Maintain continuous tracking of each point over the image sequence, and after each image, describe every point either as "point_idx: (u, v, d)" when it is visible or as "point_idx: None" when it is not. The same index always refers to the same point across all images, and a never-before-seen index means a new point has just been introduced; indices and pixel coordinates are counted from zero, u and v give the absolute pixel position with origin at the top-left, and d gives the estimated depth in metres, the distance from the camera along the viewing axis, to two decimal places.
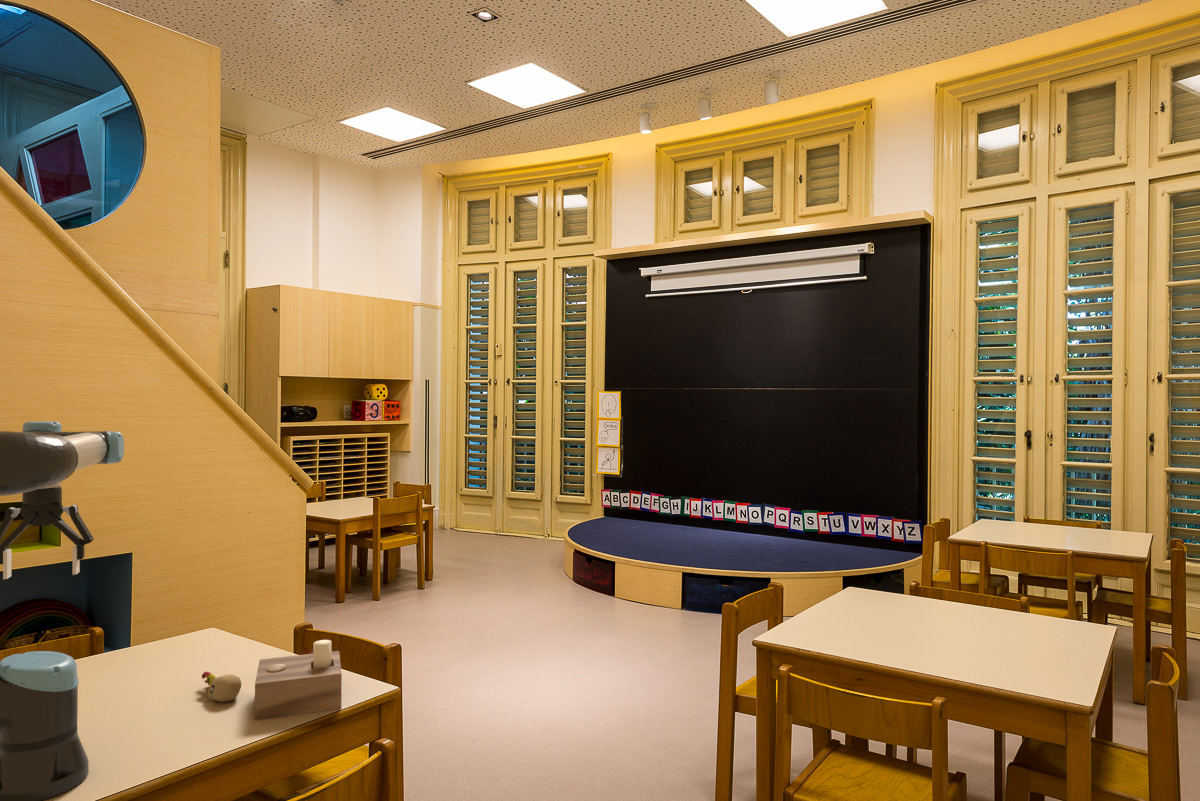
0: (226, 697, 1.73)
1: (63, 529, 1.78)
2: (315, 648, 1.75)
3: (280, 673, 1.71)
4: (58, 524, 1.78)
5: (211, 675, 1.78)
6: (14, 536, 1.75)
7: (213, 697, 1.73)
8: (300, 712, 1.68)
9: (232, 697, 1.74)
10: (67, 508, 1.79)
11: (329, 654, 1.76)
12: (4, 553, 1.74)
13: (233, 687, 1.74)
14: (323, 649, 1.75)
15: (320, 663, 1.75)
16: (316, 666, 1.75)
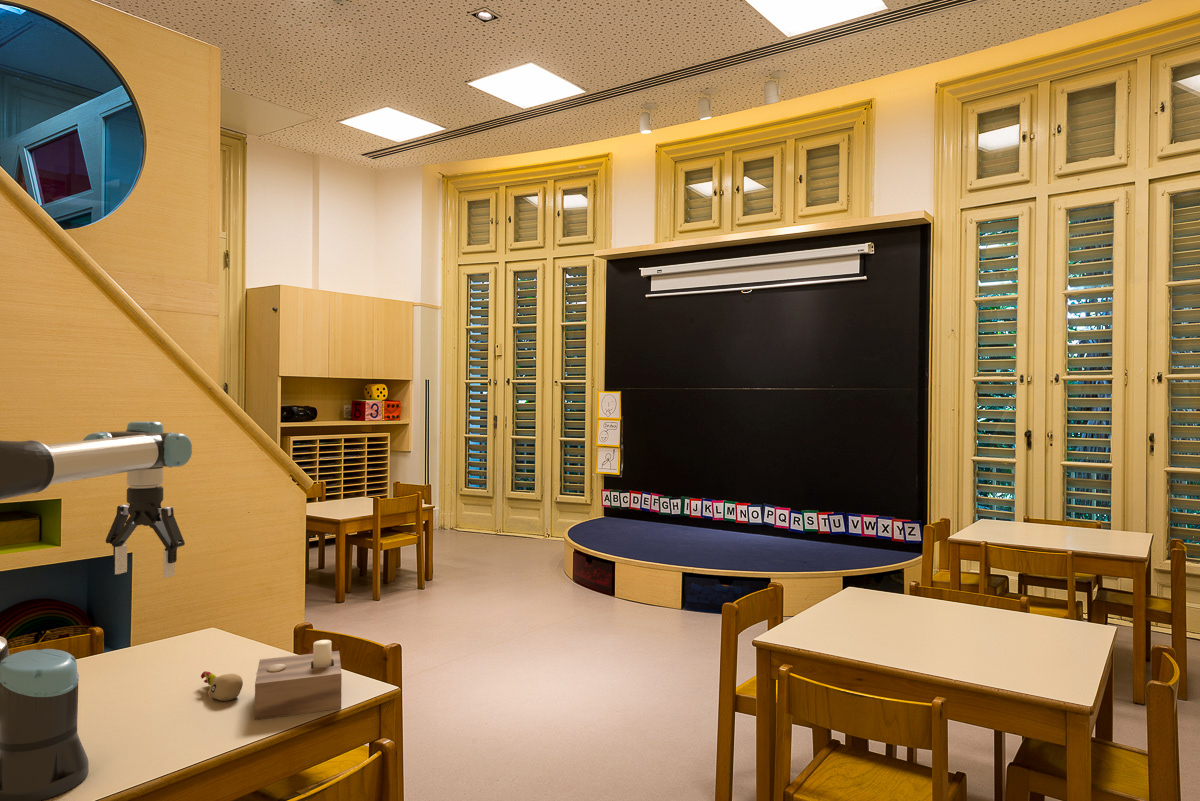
0: (229, 696, 1.73)
1: (157, 531, 1.77)
2: (315, 648, 1.75)
3: (280, 673, 1.71)
4: (152, 525, 1.77)
5: (211, 674, 1.79)
6: (123, 533, 1.79)
7: (215, 696, 1.74)
8: (300, 712, 1.68)
9: (234, 696, 1.75)
10: None
11: (329, 654, 1.76)
12: (115, 549, 1.79)
13: (235, 686, 1.75)
14: (323, 649, 1.75)
15: (320, 663, 1.75)
16: (316, 666, 1.75)
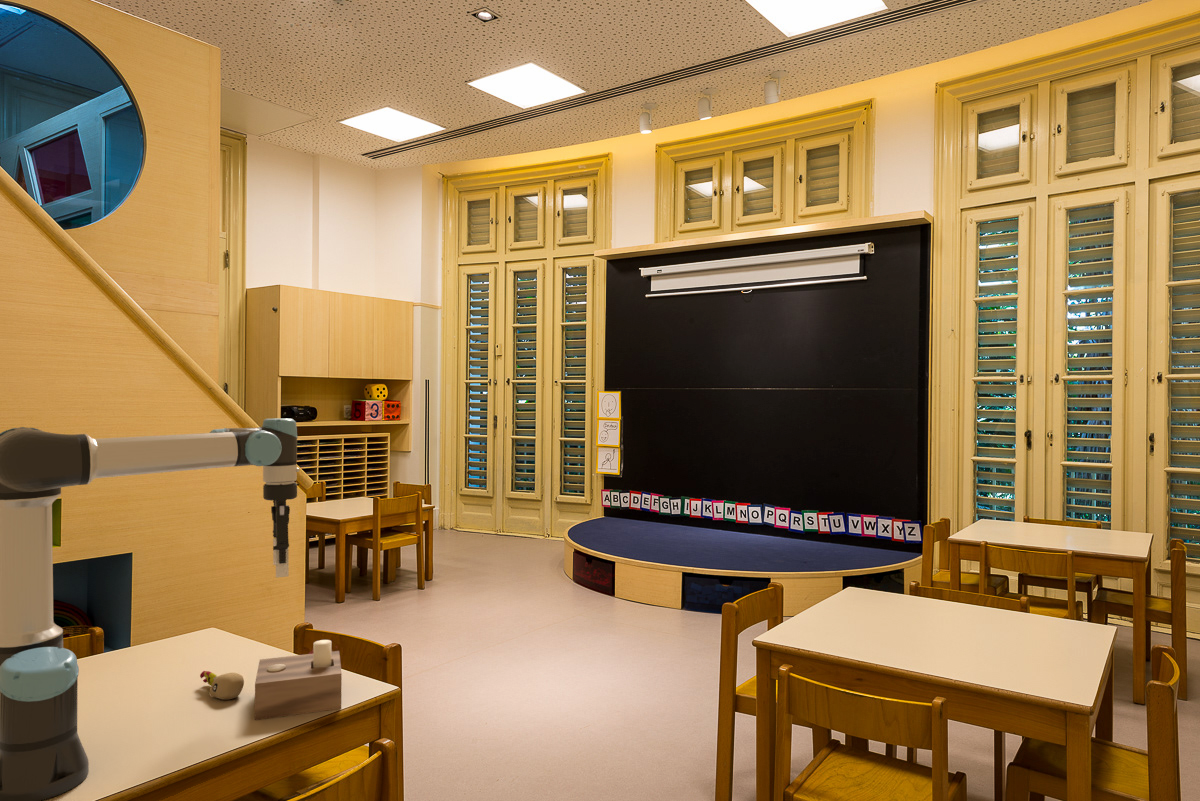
0: (231, 694, 1.74)
1: (275, 528, 1.76)
2: (315, 648, 1.75)
3: (280, 673, 1.71)
4: (274, 522, 1.77)
5: (212, 674, 1.79)
6: (274, 526, 1.85)
7: (217, 695, 1.74)
8: (300, 712, 1.68)
9: (236, 694, 1.75)
10: None
11: (329, 654, 1.76)
12: (273, 540, 1.86)
13: (237, 685, 1.75)
14: (323, 649, 1.75)
15: (320, 663, 1.75)
16: (316, 666, 1.75)
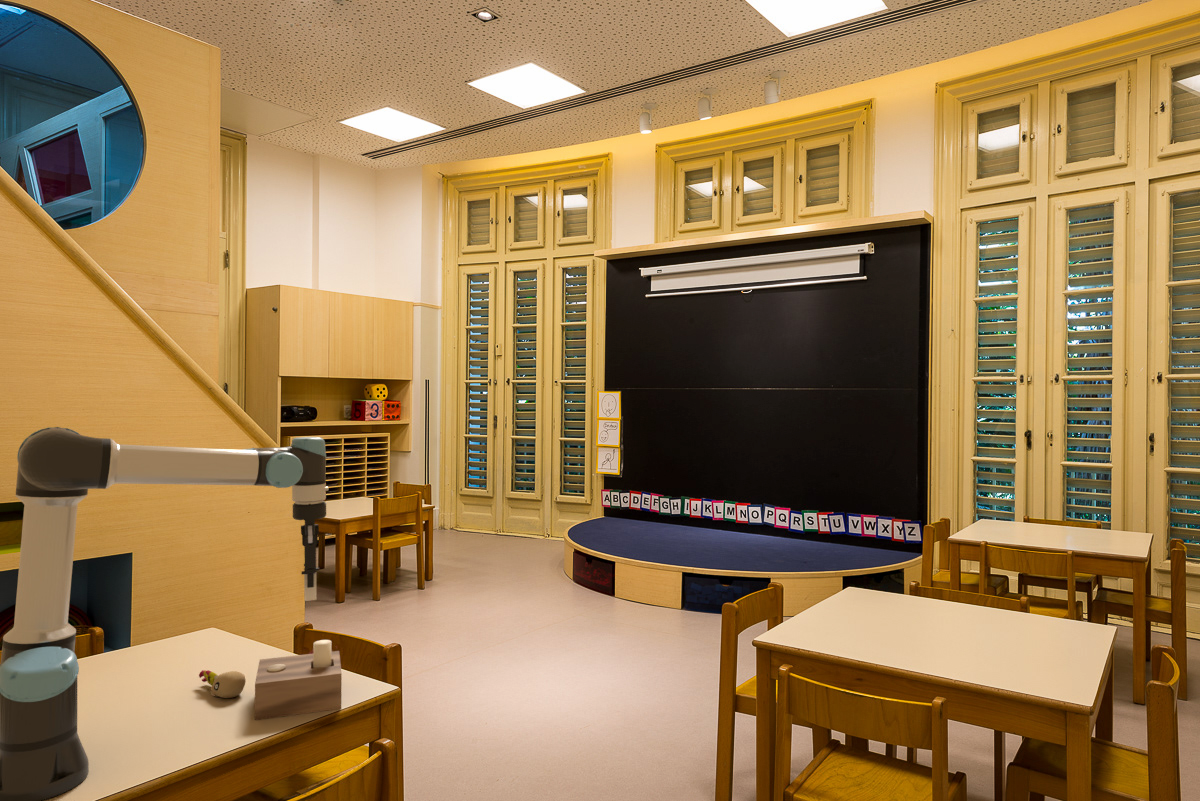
0: (233, 693, 1.75)
1: None
2: (315, 648, 1.75)
3: (280, 673, 1.71)
4: (303, 544, 1.78)
5: (212, 673, 1.80)
6: None
7: (219, 694, 1.75)
8: (300, 712, 1.68)
9: (238, 693, 1.76)
10: (308, 534, 1.75)
11: (329, 654, 1.76)
12: None
13: (239, 683, 1.76)
14: (323, 649, 1.75)
15: (320, 663, 1.75)
16: (316, 666, 1.75)
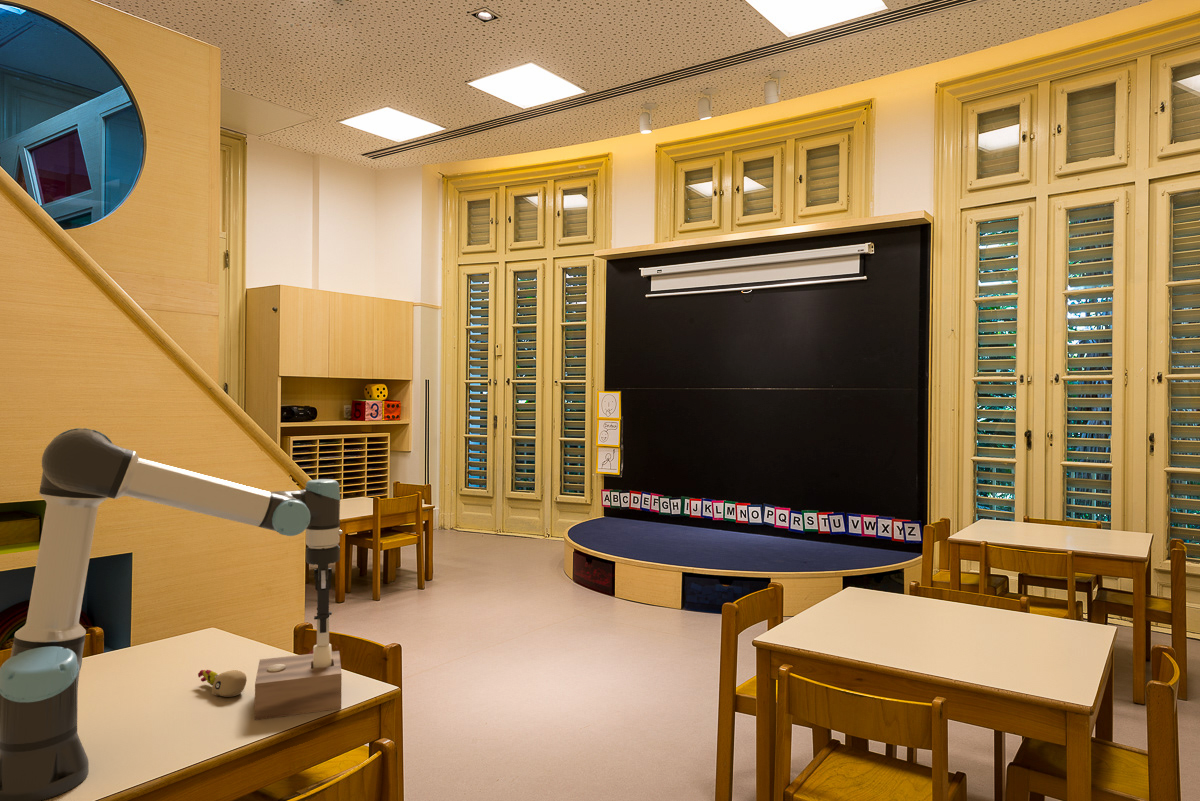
0: (235, 691, 1.76)
1: None
2: (315, 651, 1.75)
3: (280, 673, 1.71)
4: (316, 589, 1.75)
5: (212, 672, 1.80)
6: (317, 598, 1.77)
7: (220, 693, 1.76)
8: (300, 712, 1.68)
9: (239, 691, 1.77)
10: (321, 579, 1.72)
11: (329, 657, 1.76)
12: None
13: (241, 681, 1.77)
14: (323, 653, 1.75)
15: (320, 666, 1.75)
16: None
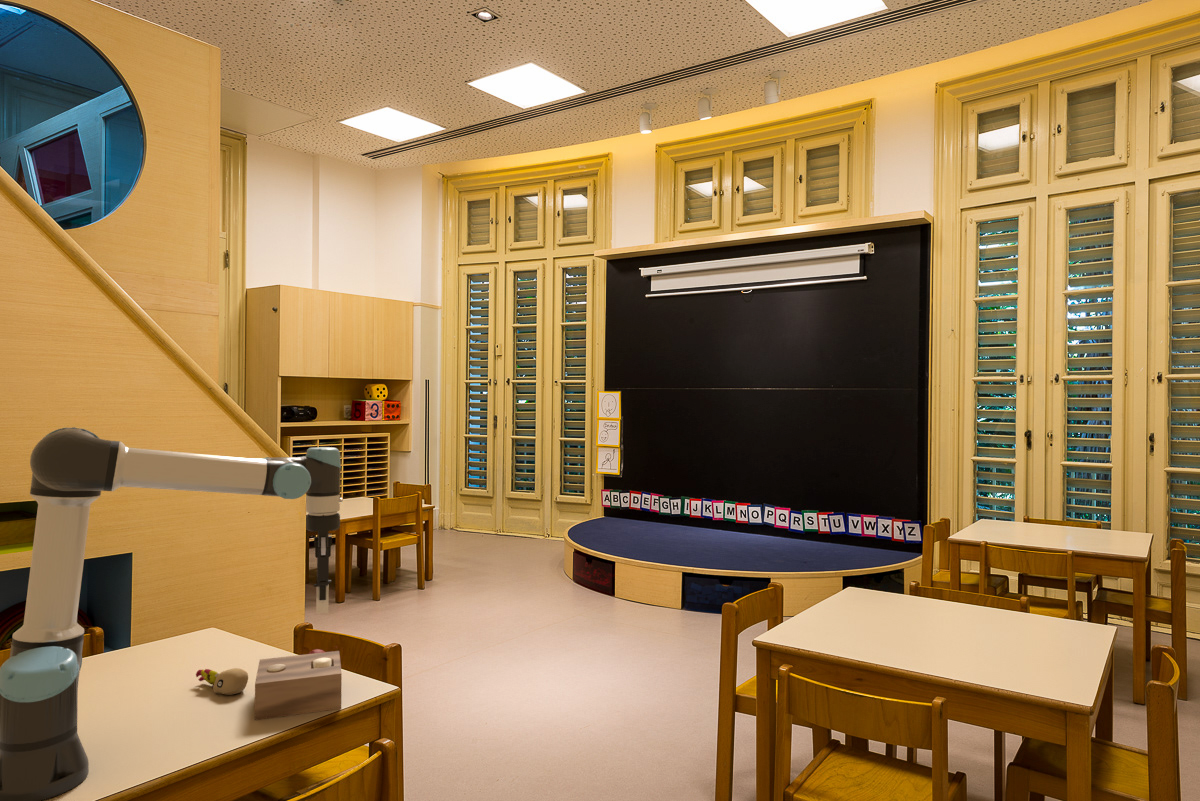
0: (238, 689, 1.77)
1: (317, 563, 1.75)
2: (315, 666, 1.75)
3: (280, 673, 1.71)
4: (315, 556, 1.75)
5: (212, 671, 1.81)
6: None
7: (223, 691, 1.77)
8: (300, 712, 1.68)
9: (242, 689, 1.79)
10: (321, 545, 1.72)
11: None
12: None
13: (243, 679, 1.79)
14: None
15: None
16: None
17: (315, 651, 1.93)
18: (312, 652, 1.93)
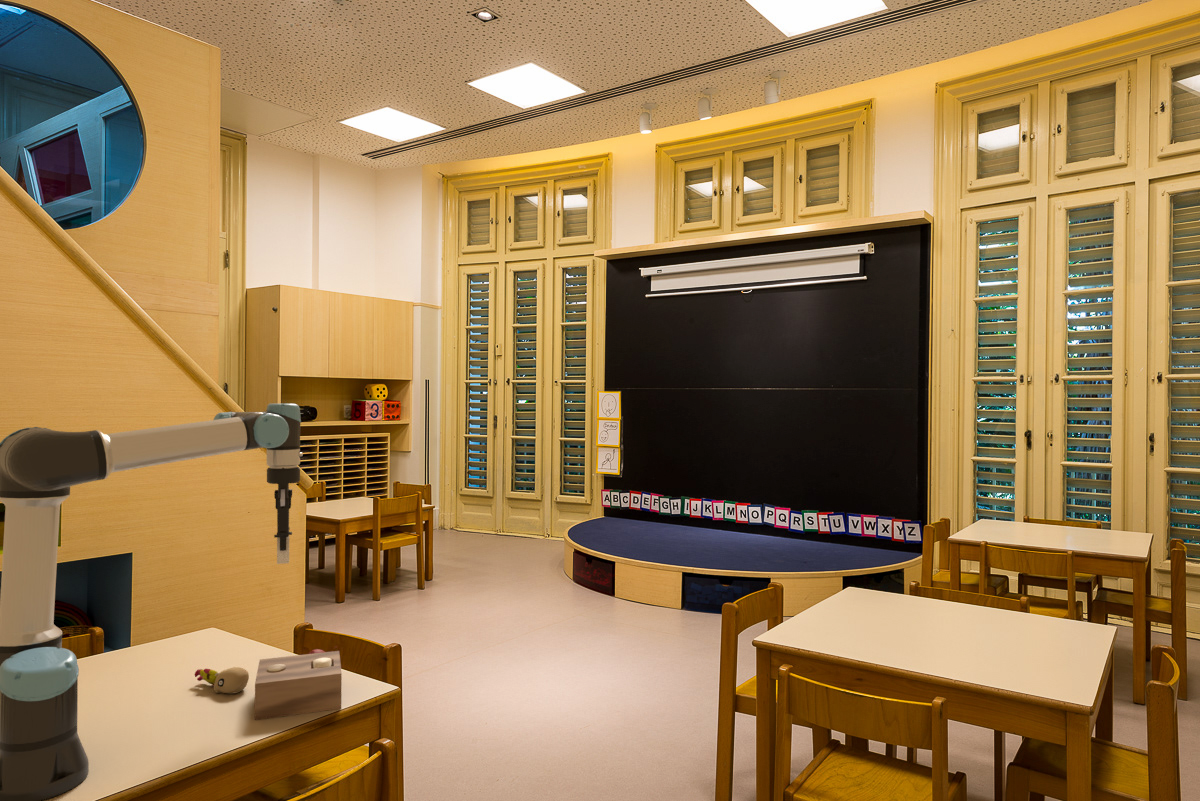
0: (239, 688, 1.78)
1: None
2: (315, 666, 1.75)
3: (280, 673, 1.71)
4: (276, 508, 1.81)
5: (212, 670, 1.81)
6: None
7: (224, 690, 1.77)
8: (300, 712, 1.68)
9: (243, 687, 1.80)
10: (280, 497, 1.78)
11: None
12: None
13: (244, 678, 1.80)
14: None
15: None
16: None
17: (315, 651, 1.93)
18: (312, 652, 1.93)
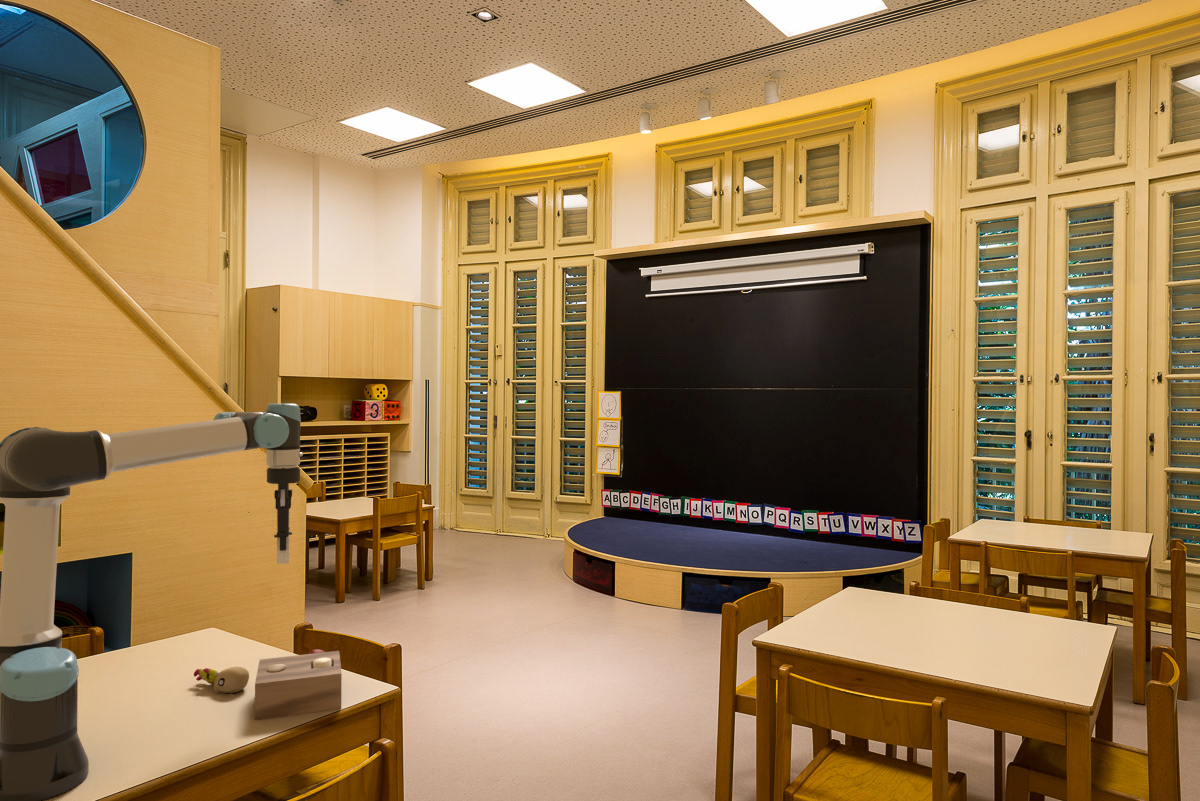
0: (240, 687, 1.79)
1: None
2: (315, 666, 1.75)
3: (280, 673, 1.71)
4: (276, 508, 1.81)
5: (212, 670, 1.82)
6: None
7: (225, 689, 1.78)
8: (300, 712, 1.68)
9: (244, 687, 1.80)
10: (280, 497, 1.78)
11: None
12: None
13: (245, 677, 1.80)
14: None
15: None
16: None
17: (315, 651, 1.93)
18: (312, 652, 1.93)
